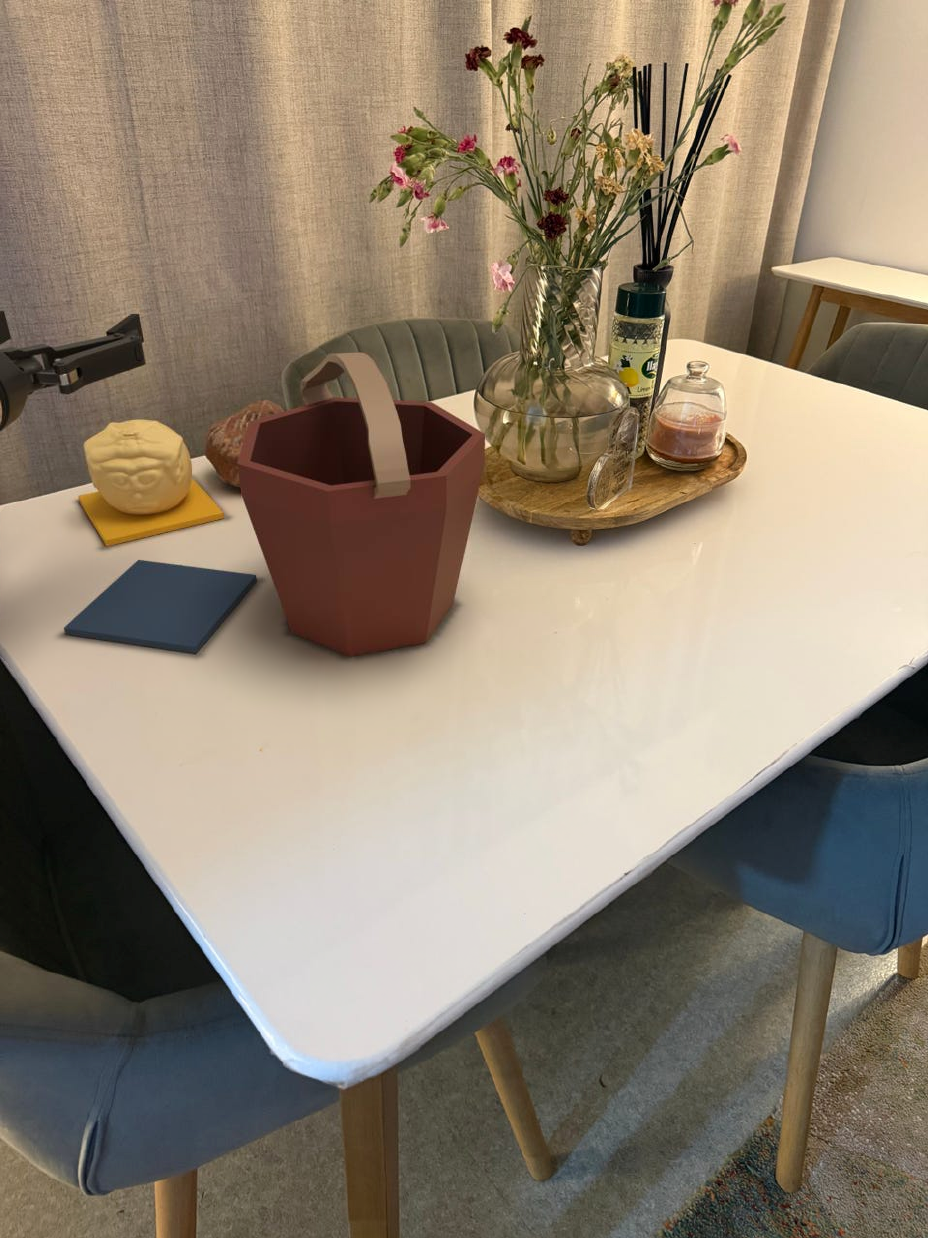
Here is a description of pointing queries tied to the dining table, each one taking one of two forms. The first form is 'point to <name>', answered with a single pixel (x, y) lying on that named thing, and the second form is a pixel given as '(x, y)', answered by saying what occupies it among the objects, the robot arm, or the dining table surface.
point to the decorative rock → (233, 438)
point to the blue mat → (163, 606)
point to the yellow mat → (148, 516)
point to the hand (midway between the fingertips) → (71, 325)
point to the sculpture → (139, 466)
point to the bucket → (362, 508)
